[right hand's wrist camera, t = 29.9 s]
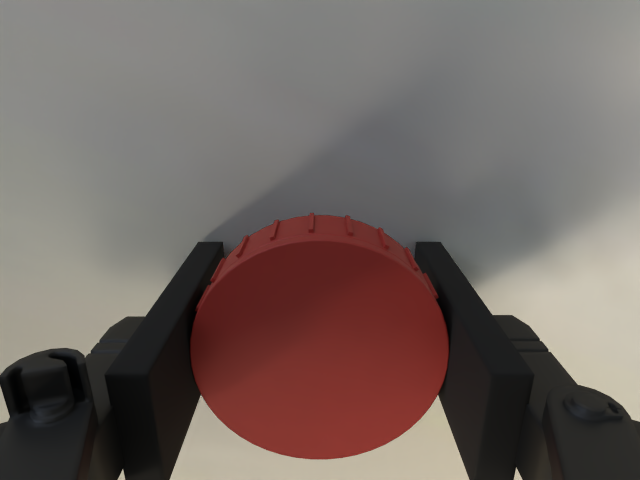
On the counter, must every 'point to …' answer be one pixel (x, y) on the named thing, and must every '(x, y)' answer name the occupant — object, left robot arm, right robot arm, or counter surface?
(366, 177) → the counter surface
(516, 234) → the counter surface
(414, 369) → the lid
